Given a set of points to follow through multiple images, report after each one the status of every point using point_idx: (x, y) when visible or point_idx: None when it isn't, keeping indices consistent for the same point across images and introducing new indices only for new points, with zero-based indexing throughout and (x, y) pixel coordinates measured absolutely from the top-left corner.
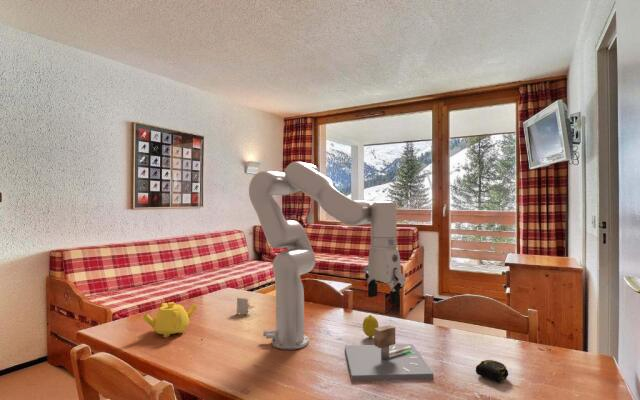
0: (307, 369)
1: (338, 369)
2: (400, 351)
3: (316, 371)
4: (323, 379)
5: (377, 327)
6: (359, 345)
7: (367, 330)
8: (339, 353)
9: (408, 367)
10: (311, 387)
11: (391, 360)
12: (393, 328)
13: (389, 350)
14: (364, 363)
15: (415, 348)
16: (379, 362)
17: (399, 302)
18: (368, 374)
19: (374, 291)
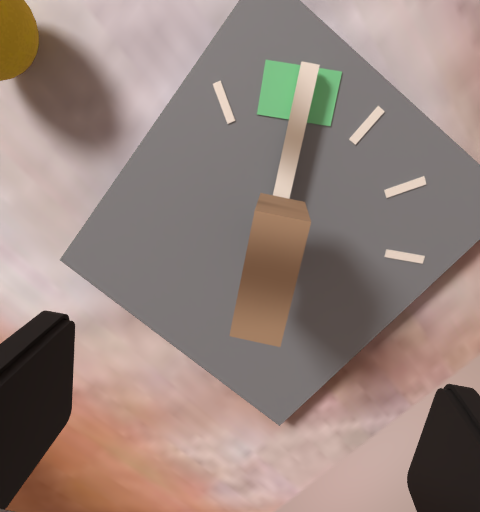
0: (121, 449)
1: (187, 385)
2: (300, 148)
3: (151, 440)
4: (208, 459)
5: (19, 10)
6: (98, 211)
7: (6, 78)
8: (82, 292)
9: (402, 231)
10: (221, 507)
11: None
12: (307, 236)
13: (230, 147)
14: None
15: (310, 11)
16: None
17: (477, 395)
18: (316, 384)
19: (42, 393)
